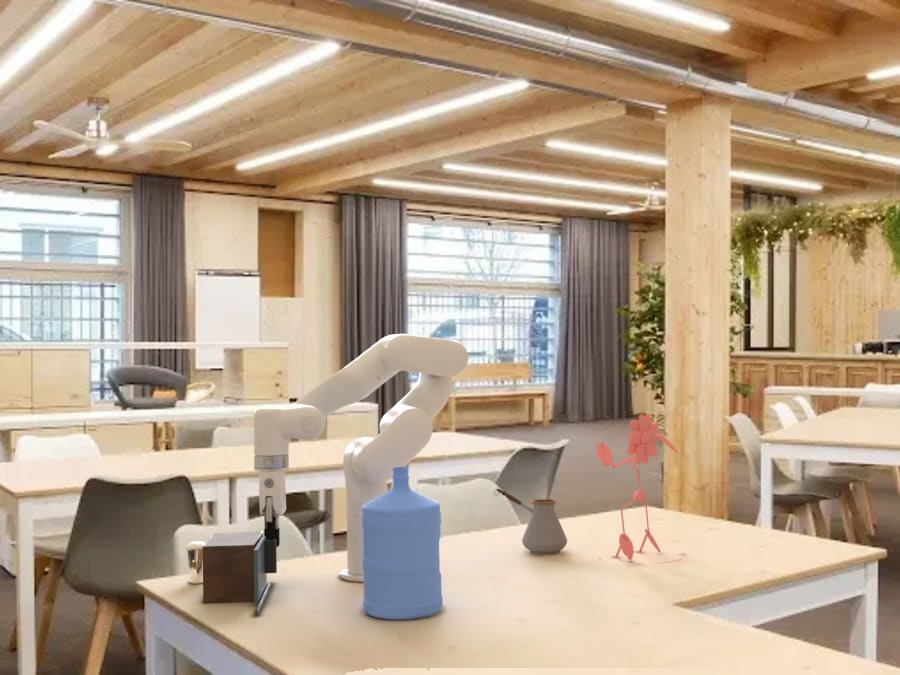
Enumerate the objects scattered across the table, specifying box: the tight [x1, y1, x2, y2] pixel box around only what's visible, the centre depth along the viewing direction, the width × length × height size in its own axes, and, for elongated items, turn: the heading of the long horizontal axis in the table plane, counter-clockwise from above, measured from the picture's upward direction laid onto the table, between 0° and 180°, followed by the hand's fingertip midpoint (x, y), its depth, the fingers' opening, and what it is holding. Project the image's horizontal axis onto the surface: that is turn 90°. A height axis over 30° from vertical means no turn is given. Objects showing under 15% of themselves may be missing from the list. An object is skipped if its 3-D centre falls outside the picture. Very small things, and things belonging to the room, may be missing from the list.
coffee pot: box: [493, 487, 568, 555], centre depth 254 cm, size 21×12×15 cm, turn 49°
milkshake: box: [186, 537, 211, 585], centre depth 223 cm, size 5×5×10 cm
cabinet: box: [202, 531, 273, 617], centre depth 206 cm, size 12×28×12 cm, turn 4°
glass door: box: [254, 535, 278, 604], centre depth 208 cm, size 3×16×11 cm, turn 4°
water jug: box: [362, 466, 444, 621], centre depth 194 cm, size 16×16×28 cm
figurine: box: [595, 413, 687, 565], centre depth 240 cm, size 15×26×35 cm, turn 131°
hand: (271, 546), depth 217 cm, fingers closed
